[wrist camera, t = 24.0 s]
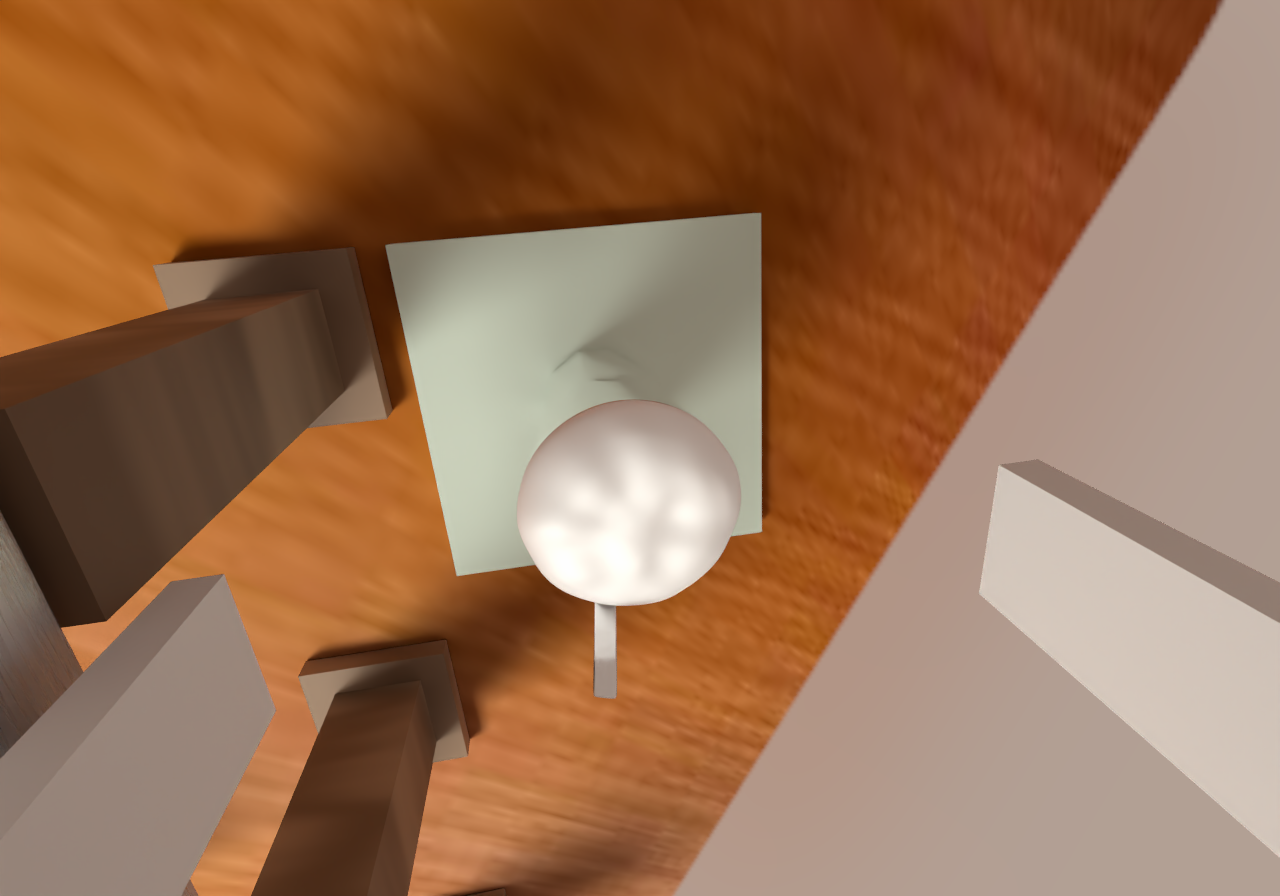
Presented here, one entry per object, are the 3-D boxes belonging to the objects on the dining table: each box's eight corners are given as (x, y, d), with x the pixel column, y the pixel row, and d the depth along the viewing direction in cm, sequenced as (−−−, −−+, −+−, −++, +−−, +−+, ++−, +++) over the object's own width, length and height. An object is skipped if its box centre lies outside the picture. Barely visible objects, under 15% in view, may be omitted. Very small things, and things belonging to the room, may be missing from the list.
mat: (459, 566, 22) (456, 575, 22) (389, 243, 18) (385, 245, 18) (756, 524, 23) (761, 531, 23) (754, 212, 19) (761, 212, 19)
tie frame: (415, 978, 30) (341, 1436, 19) (168, 262, 17) (-467, 362, 6) (520, 956, 30) (510, 1387, 19) (353, 247, 18) (62, 314, 7)
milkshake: (507, 470, 21) (482, 685, 11) (542, 310, 19) (545, 411, 10) (639, 494, 22) (713, 709, 12) (682, 345, 20) (806, 466, 11)
